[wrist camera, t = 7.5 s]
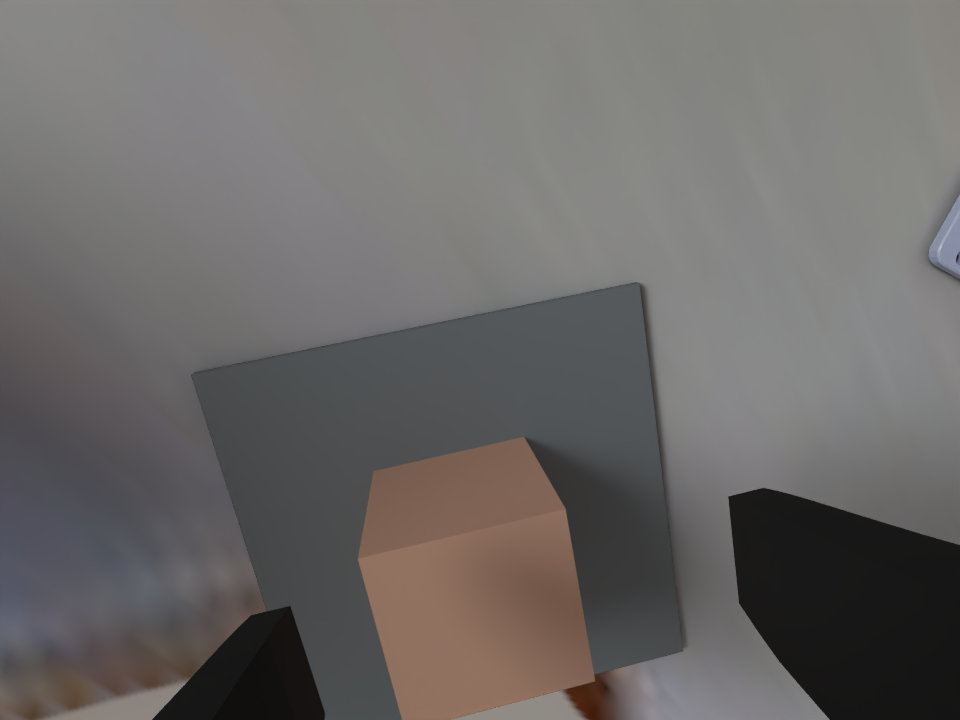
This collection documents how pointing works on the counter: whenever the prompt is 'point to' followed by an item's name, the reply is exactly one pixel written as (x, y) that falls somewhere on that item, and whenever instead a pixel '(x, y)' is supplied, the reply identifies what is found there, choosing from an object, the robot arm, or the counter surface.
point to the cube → (473, 582)
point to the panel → (440, 431)
